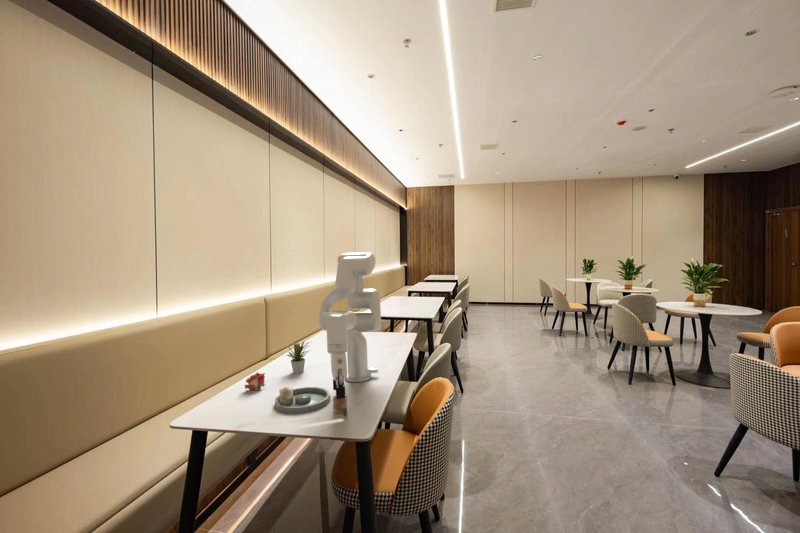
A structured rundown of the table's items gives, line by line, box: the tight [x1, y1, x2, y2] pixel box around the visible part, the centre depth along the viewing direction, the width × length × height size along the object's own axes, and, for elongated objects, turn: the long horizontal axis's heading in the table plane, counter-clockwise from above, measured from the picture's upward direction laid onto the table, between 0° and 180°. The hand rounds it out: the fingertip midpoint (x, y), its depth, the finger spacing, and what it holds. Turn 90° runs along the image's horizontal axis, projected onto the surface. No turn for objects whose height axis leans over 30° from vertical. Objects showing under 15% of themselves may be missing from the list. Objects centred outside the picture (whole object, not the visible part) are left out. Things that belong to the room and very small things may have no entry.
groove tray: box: [274, 386, 331, 414], centre depth 143 cm, size 21×21×3 cm
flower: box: [244, 372, 267, 391], centre depth 159 cm, size 10×9×8 cm
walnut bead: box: [332, 395, 348, 416], centre depth 133 cm, size 5×5×6 cm
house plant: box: [284, 340, 311, 374], centre depth 184 cm, size 14×14×16 cm
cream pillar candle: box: [278, 386, 294, 406], centre depth 141 cm, size 5×5×6 cm
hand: (339, 393), depth 132 cm, fingers open, 9 cm apart
